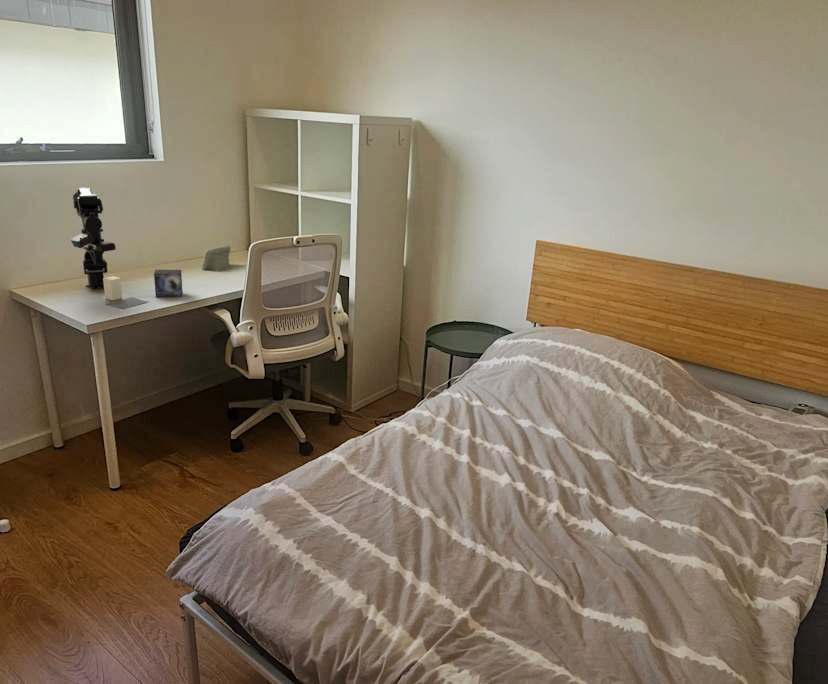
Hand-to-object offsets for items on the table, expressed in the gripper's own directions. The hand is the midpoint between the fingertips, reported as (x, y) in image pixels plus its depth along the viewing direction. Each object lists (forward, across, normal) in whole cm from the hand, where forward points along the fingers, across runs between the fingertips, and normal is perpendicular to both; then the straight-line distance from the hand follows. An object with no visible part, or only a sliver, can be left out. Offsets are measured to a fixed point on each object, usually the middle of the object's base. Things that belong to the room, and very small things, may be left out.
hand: (96, 264), depth 248 cm
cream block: (+13, +8, 0) cm, 16 cm away
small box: (+13, +20, +18) cm, 30 cm away
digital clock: (+13, +1, +64) cm, 65 cm away
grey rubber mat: (+13, +16, 0) cm, 21 cm away
